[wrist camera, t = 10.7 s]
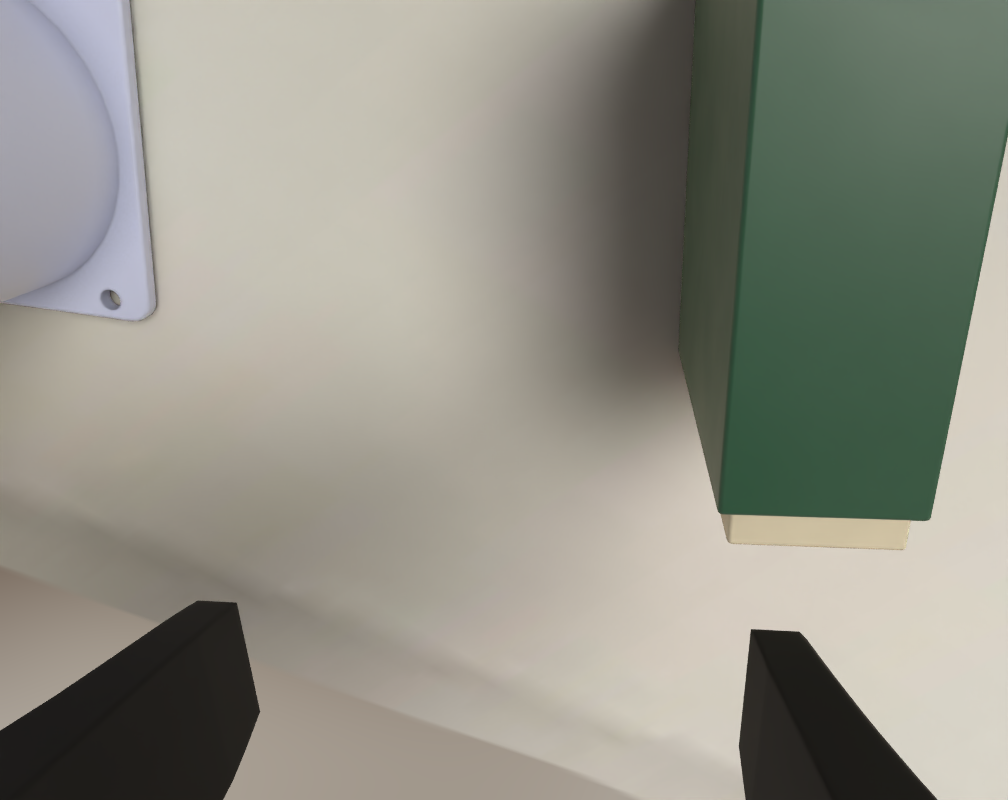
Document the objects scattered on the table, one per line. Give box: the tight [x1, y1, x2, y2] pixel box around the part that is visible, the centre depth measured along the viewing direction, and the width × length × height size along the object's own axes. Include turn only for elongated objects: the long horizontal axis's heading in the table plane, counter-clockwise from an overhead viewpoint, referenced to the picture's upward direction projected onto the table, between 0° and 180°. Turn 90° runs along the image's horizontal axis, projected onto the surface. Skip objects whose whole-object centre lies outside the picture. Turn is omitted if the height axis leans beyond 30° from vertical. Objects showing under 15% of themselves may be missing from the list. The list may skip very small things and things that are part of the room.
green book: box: [678, 0, 1008, 550], centre depth 13 cm, size 3×9×8 cm, turn 2°
